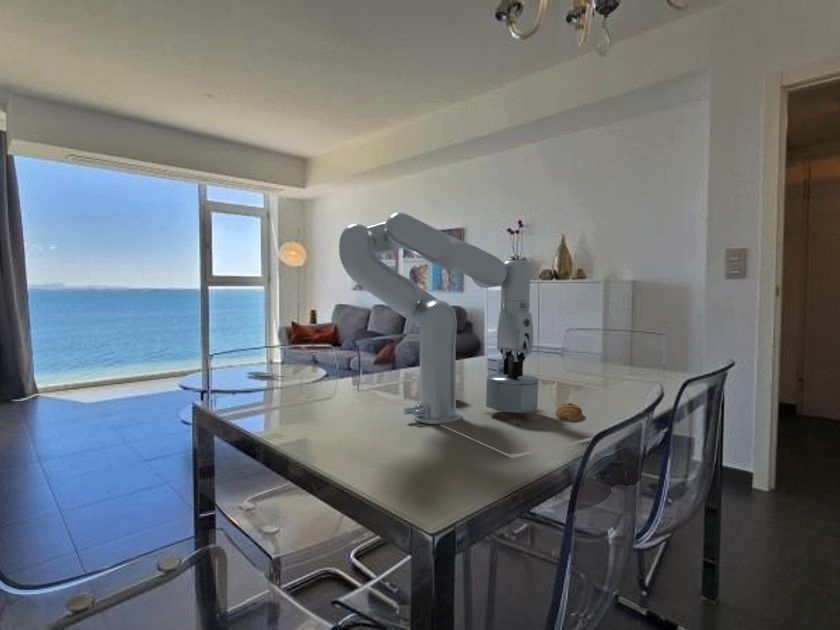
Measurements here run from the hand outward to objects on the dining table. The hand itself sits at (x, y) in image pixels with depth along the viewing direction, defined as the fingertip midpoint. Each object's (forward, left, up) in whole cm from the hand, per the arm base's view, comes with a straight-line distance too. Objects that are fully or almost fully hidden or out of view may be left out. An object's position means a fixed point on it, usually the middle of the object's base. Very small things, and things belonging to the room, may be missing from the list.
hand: (512, 374), depth 127 cm
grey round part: (0, 0, -8) cm, 8 cm away
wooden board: (+1, 0, -11) cm, 11 cm away
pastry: (+12, -9, -12) cm, 19 cm away
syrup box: (+7, +14, -12) cm, 19 cm away
